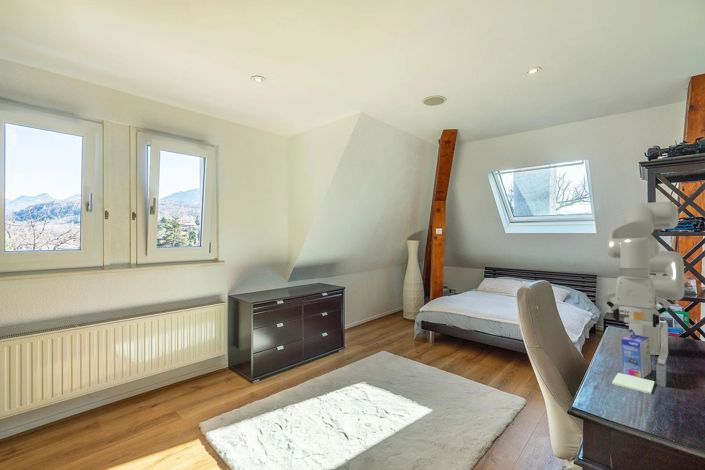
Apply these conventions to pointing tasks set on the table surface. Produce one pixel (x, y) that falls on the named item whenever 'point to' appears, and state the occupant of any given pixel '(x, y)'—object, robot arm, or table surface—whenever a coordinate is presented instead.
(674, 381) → the table surface
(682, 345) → the table surface
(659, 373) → the rail block
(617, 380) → the felt pad
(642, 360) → the ink cartridge box
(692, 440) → the table surface
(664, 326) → the grey angled frame
